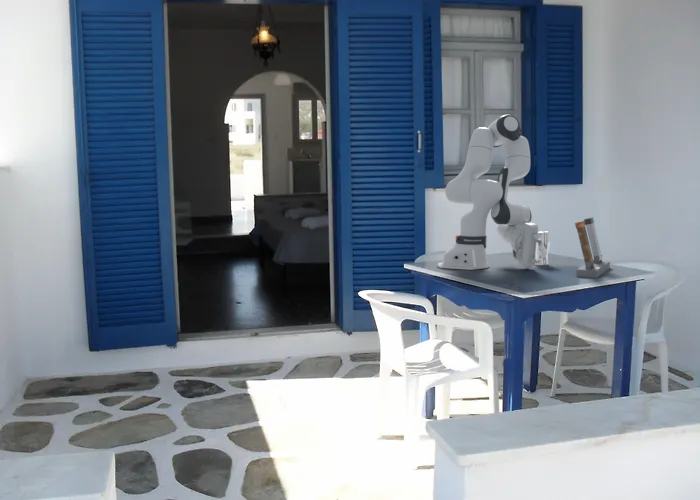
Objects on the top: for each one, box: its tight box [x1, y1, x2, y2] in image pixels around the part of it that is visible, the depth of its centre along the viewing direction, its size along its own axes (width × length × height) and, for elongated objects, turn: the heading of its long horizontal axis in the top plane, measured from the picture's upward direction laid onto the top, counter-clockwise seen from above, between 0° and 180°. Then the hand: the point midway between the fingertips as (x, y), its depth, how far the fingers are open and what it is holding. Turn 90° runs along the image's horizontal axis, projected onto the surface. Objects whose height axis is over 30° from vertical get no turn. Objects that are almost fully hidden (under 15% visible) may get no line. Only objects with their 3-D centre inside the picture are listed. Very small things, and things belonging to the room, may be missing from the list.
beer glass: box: [534, 230, 551, 266], centre depth 339 cm, size 7×7×15 cm
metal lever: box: [583, 217, 603, 262], centre depth 325 cm, size 3×5×19 cm, turn 151°
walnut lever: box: [574, 220, 594, 267], centre depth 309 cm, size 3×5×19 cm, turn 151°
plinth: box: [576, 254, 611, 279], centre depth 317 cm, size 8×30×6 cm, turn 151°
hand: (538, 251), depth 316 cm, fingers open, 8 cm apart
